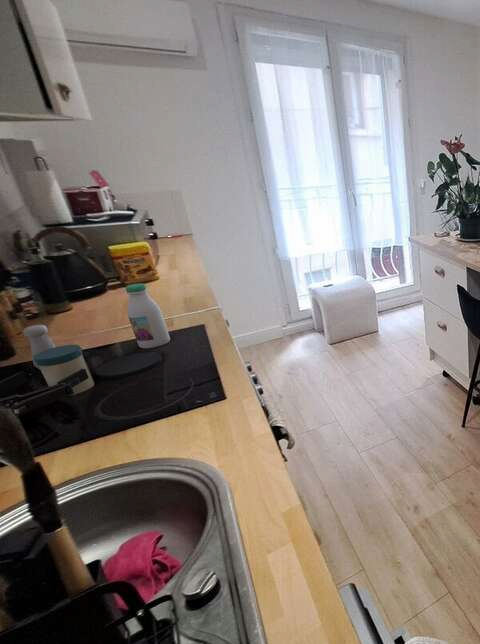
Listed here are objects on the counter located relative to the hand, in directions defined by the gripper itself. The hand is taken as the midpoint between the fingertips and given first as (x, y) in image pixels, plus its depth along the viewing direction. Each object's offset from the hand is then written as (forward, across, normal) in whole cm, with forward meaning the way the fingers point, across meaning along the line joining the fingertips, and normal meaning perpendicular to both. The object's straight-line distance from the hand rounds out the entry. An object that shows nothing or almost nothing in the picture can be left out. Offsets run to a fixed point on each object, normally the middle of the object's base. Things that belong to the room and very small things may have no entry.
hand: (55, 374), depth 102 cm
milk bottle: (+30, +1, -6) cm, 30 cm away
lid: (+3, 0, +5) cm, 5 cm away
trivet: (+14, +5, -6) cm, 16 cm away
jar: (+3, 0, -6) cm, 7 cm away
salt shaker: (+16, -16, -6) cm, 23 cm away
